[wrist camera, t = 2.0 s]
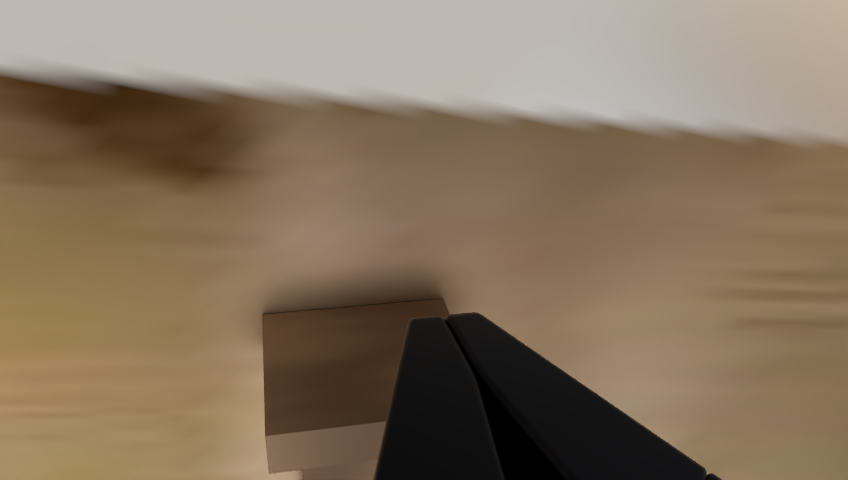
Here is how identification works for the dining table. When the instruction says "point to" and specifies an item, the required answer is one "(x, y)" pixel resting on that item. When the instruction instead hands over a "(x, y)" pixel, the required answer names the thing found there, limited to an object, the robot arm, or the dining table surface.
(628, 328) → the dining table surface
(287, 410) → the tray
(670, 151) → the dining table surface
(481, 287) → the dining table surface
